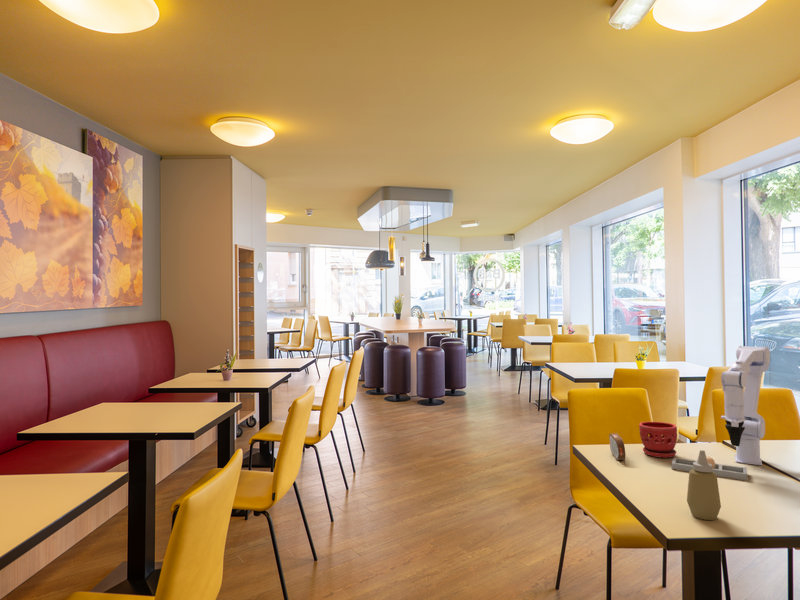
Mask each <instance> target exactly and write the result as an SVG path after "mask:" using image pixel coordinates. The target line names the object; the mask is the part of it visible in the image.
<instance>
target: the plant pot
mask: <svg viewBox="0 0 800 600" xmlns="http://www.w3.org/2000/svg"><path fill="white" fill-rule="evenodd" d="M638 426H639V429H638V430H639V436H640V440H641V443H642V445H643V448H642V451H643V452H644V454H646V455H648V456H649V455H650V457H654V458H655V457H656V458H661V457H662V459H663V458H664V459H665V458H668V457H669V458H672V457H673V458H674V456H676V454H677V450H675V448H676V445H677V440H678V427H677V426H676V424H673V423H671V422H670V423H669V422H665V421H664V422H662V421H643V422H639V425H638Z"/></svg>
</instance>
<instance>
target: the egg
mask: <svg viewBox="0 0 800 600" xmlns="http://www.w3.org/2000/svg"><path fill="white" fill-rule="evenodd" d="M706 458H707V462H708V463H709V464H711V465H712V466H713V469H715V462H716V461H715V460H714V458H712V457H710V456H706Z"/></svg>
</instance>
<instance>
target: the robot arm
mask: <svg viewBox="0 0 800 600" xmlns="http://www.w3.org/2000/svg"><path fill="white" fill-rule="evenodd" d="M735 351H736V352H735V355H736V359H737V360H735V361H734V362H732V364H731V365H730V366H729V368H728V369H727V370H725V371H723V372H722V373H721V376H720V380H721V385H722V391H723V393H724V394H723V396H724V415H721V416H720V419H723V420H724V422H725V423H726V424H725V425H724V426H725V429H726V431H727V432H728V437H729V441H730V445H731V446H732V447H736V448H735V449H736V452H735V453H736V454H735V455H734V460H735V463H741V464H747V465H755V466H763V463H762V457H761V447H760V446H761V442H760V441H761V439H763V438H764V437H765V435H766V422H765V421H766V420H765V419H764V417H763V416H762V415H760V414H759V413H758V408H759V407H758V406H759V405H758V404H759V400H760V399H759V398H760V392H761V391H760V389H761V384H762V383H761V382H762V377H763V375H764V372H767V371H769V367H770V362H771V361H770V360H771V352H770V349H769V348H768V347H767V346H747V345H746V346H744V345H738V346H737V347H736V350H735Z"/></svg>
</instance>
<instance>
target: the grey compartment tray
mask: <svg viewBox="0 0 800 600" xmlns="http://www.w3.org/2000/svg"><path fill="white" fill-rule="evenodd" d="M697 461H698V460H694V459H693V460H692V459H687V458H680V457H679V458H678V457H673V459H672V461H671V470H674V469H676V471H681V470H682V472H686V473H688V472H689V471H691V470H692V469H693V462H697ZM712 472H713V473H715V474H716V475H717V477H720V478H726V477H727V478H726V479H733V480H741V481H747V482H748V470H747V467H743V466H737V465H728V464H723V463H715V469H713V471H712Z"/></svg>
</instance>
